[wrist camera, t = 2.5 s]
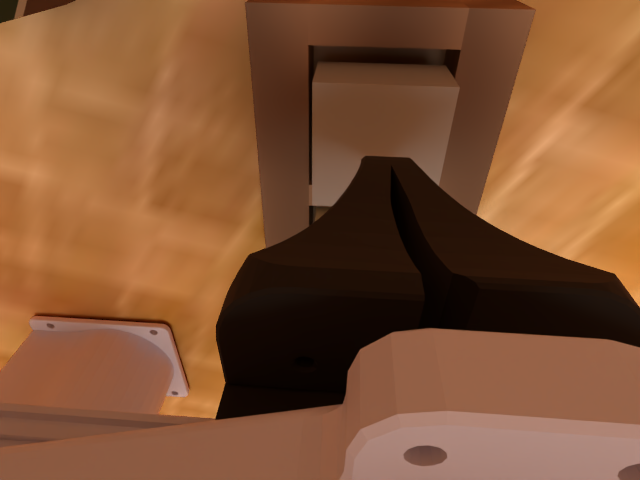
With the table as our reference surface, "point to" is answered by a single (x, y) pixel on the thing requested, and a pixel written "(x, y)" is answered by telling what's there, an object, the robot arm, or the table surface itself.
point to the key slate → (377, 120)
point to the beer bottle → (26, 7)
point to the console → (377, 47)
